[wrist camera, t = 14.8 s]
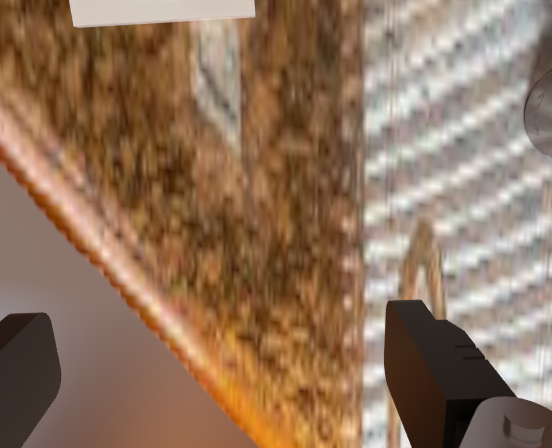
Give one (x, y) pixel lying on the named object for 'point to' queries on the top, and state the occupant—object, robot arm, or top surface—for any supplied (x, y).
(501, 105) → the top surface
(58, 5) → the top surface
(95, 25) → the mat
